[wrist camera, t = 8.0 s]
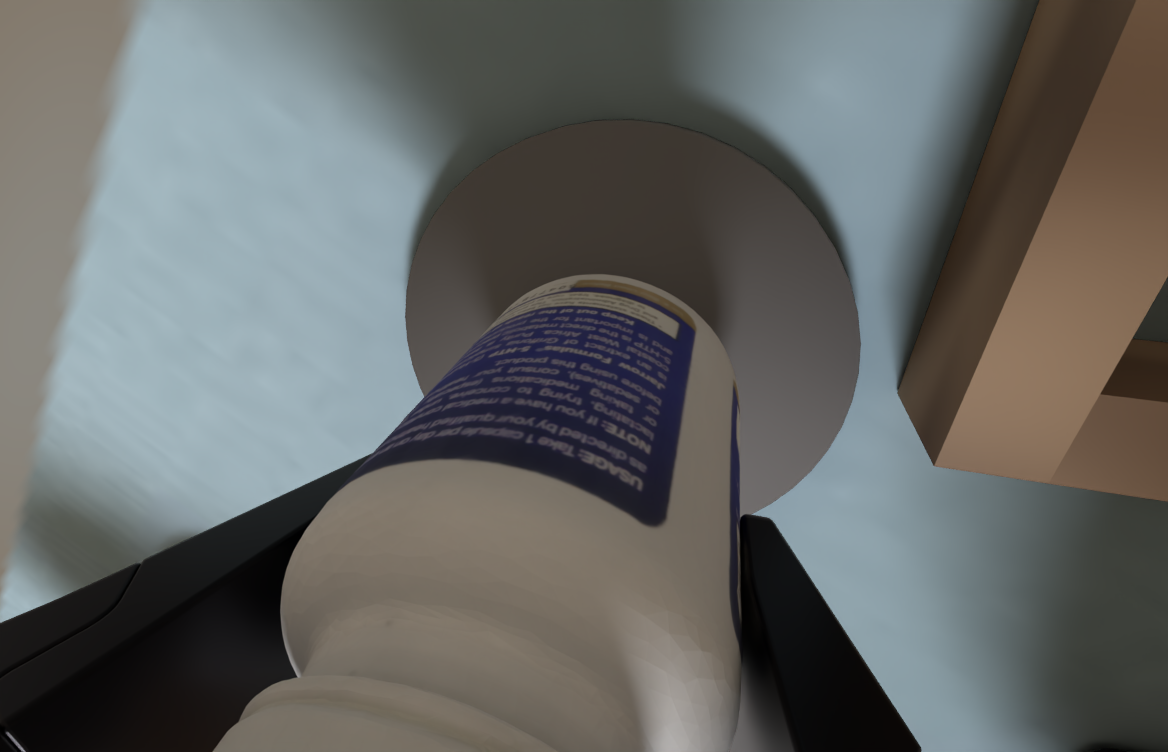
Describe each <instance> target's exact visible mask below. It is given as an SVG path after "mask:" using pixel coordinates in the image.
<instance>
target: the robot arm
mask: <svg viewBox="0 0 1168 752" xmlns="http://www.w3.org/2000/svg"><path fill="white" fill-rule="evenodd" d="M372 454H373V453H372ZM372 454H370V455H368V456H365V457H363V458H361V459H359V460H357V461H355V462H353V463H350V464H348V465H346V466H344V467H342V468H340V469H338V470H335V471H333V472H331V473H329V474H327V475H325V476H323V477H320V478H318V479H316V480H314V481H312V482H310V483H308V484H305V485H303V486H301V487H299V488H297V489H295V490H292V491H290V492H288V493H286V494H284V495H282V496H280V497H277V498H275V499H273V500H271V501H269V502H267V503H265V504H262V505H260V506H258V507H256V508H254V509H252V510H250V511H247V512H245V513H243V514H241V515H239V516H237V517H234V518H232V519H230V520H228V521H226V522H224V523H222V524H219V525H217V526H215V527H213V528H211V529H209V530H207V531H204V532H202V533H200V534H198V535H196V536H194V537H191V538H189V539H187V540H185V541H183V542H181V543H179V544H176V545H174V546H172V547H170V548H168V549H166V550H164V551H161V552H159V553H157V554H155V555H153V556H151V557H148V558H146V559H145V560H143V562H142V563H135V564H133V565H131V566H129V567H127V568H125V569H123V570H120V571H118V572H116V573H114V574H112V575H110V576H108V577H105V578H103V579H101V580H99V581H97V582H94V583H92V584H90V585H88V586H85V587H83V588H81V589H79V590H77V591H74V592H72V593H70V594H68V595H65V596H63V597H61V598H59V599H56V600H54V601H52V602H49V603H47V604H45V605H42V606H40V607H38V608H35V609H33V610H30V611H28V612H26V613H23V614H21V615H18V616H16V617H14V618H11V619H9V620H6V621H4V622H2V623H0V752H213V751H214V749H215V748H216V746H217V745H218V744H219V742H220V741H221V740H222V738H223V737H224V735H225V734H226V733H227V731H228V730H229V729H231V728H232V727H233V726H234V725H235V724H237V723H238V722H239V720H240V717H241V715H242V713H243V711H244V709H245V708H246V706H247V705H248V703H249V702H250V701H251V700H252V699H253V698H254V697H255V696H256V695H258V694H259V693H260V692H262V691H263V690H265V689H266V688H268V687H269V686H271V685H273V684H275V683H278V682H280V681H284V680H290V679H293V678H298V677H297V675H296V673H295V671H294V669H293V667H292V665H291V663H290V660H289V657H288V654H287V651H286V648H285V644H284V639H283V634H282V626H281V615H280V608H281V595H282V585H283V581H284V577H285V573H286V569H287V566H288V564H289V561H290V558H291V556H292V553H293V551H294V549H295V547H296V545H297V544H298V542H299V540H300V539H301V537H302V535H303V534H304V532H305V530H306V529H307V527H308V526H309V525H310V524H311V522H312V521H313V520H314V519H315V517H316V516H317V515H318V514H319V512H320V511H321V510H322V509H323V507H324V506H325V504H326V503H327V502H328V501H329V500H330V499H331V498H332V496H333V495H334V494H335V493H336V492H337V491H338V490H339V488H340V487H341V486H342V485H343V484H344V483H345V482H346V481H347V480H348V479H349V478H350V477H351V476H352V475H353V474H354V473H355V471H356V470H357V469H358V468H359V467H360V466H361V465H362V464H363V463H364V462H365V461H366V460H367V459H368V458H369V457H370V456H371V455H372ZM740 559H741V606H742V645H743V659H742V679H741V703H740V710H739V717H738V724H737V729H736V732H735V735H734V738H733V741H732V744H731V747H730V750H729V752H921V747H920V745H919V744H918V742H917V741H916V739H915V738H914V736H913V734H912V733H911V731H910V730H909V728H908V727H907V725H906V724H905V722H904V721H903V719H902V718H901V716H900V715H899V713H898V712H897V710H896V708H895V707H894V705H893V704H892V702H891V701H890V699H889V698H888V696H887V695H886V693H885V692H884V690H883V689H882V687H881V686H880V684H879V682H878V681H877V679H876V678H875V676H874V675H873V673H872V672H871V670H870V669H869V667H868V666H867V664H866V663H865V661H864V660H863V658H862V656H861V655H860V653H859V652H858V650H857V649H856V647H855V646H854V644H853V643H852V641H851V640H850V638H849V637H848V635H847V634H846V632H845V630H844V629H843V627H842V626H841V624H840V623H839V621H838V620H837V618H836V617H835V615H834V614H833V612H832V611H831V609H830V608H829V606H828V604H827V603H826V601H825V600H824V598H823V597H822V595H821V594H820V592H819V591H818V589H817V588H816V586H815V585H814V583H813V582H812V580H811V578H810V577H809V575H808V574H807V572H806V571H805V569H804V568H803V566H802V565H801V563H800V562H799V560H798V559H797V557H796V556H795V554H794V552H793V551H792V549H791V548H790V546H789V545H788V543H787V542H786V540H785V539H784V537H783V536H782V534H781V533H780V531H779V529H778V528H777V526H776V525H775V523H774V522H773V521H772V520H771V519H769V518H767V517H761V516H756V515H750V514H744V515H743V516H742V517H741V518H740ZM1094 752H1126V751H1121V750H1115V749H1101V750H1098V751H1094Z"/></svg>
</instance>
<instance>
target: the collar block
mask: <svg viewBox="0 0 1168 752" xmlns="http://www.w3.org/2000/svg"><path fill="white" fill-rule="evenodd" d="M1167 277H1168V0H1039V3H1038V5H1037V8H1036V11H1035V14H1034V17H1033V19H1032V22H1031V25H1030V28H1029V30H1028V33H1027V36H1026V39H1025V41H1024V44H1023V47H1022V50H1021V52H1020V55H1019V58H1018V61H1017V64H1016V66H1015V69H1014V72H1013V75H1012V77H1011V80H1010V83H1009V86H1008V88H1007V91H1006V94H1005V97H1004V99H1003V102H1002V105H1001V108H1000V111H999V113H998V116H997V119H996V122H995V124H994V127H993V130H992V133H991V135H990V138H989V141H988V144H987V147H986V149H985V152H984V155H983V158H982V160H981V163H980V166H979V169H978V171H977V174H976V177H975V180H974V182H973V185H972V188H971V191H970V194H969V196H968V199H967V202H966V205H965V207H964V210H963V213H962V216H961V218H960V221H959V224H958V227H957V229H956V232H955V235H954V238H953V241H952V243H951V246H950V249H949V252H948V254H947V257H946V260H945V263H944V265H943V268H942V271H941V274H940V276H939V279H938V282H937V285H936V288H935V290H934V293H933V296H932V299H931V301H930V304H929V307H928V310H927V312H926V315H925V318H924V321H923V324H922V326H921V329H920V332H919V335H918V337H917V340H916V343H915V346H914V348H913V351H912V354H911V357H910V359H909V362H908V365H907V368H906V371H905V373H904V376H903V379H902V382H901V384H900V387H899V390H898V393H897V394H898V396H899V397H900V399H901V401H902V403H903V405H904V407H905V409H906V411H907V413H908V415H909V417H910V419H911V421H912V423H913V425H914V427H915V429H916V431H917V433H918V435H919V437H920V439H921V441H922V443H923V445H924V447H925V449H926V451H927V453H928V455H929V457H930V459H931V461H932V463H933V465H934V466H936V467H943V468H949V469H956V470H962V471H969V472H976V473H982V474H989V475H995V476H1002V477H1009V478H1015V479H1022V480H1028V481H1035V482H1042V483H1048V484H1055V485H1061V486H1068V487H1074V488H1081V489H1088V490H1094V491H1101V492H1107V493H1114V494H1121V495H1127V496H1134V497H1140V498H1147V499H1154V500H1160V501H1167V502H1168V343H1167V342H1157V341H1148V340H1139V339H1132V338H1133V336H1134V334H1135V333H1136V331H1137V329H1138V327H1139V326H1140V324H1141V322H1142V321H1143V319H1144V317H1145V315H1146V314H1147V312H1148V310H1149V308H1150V307H1151V305H1152V303H1153V301H1154V300H1155V298H1156V296H1157V295H1158V293H1159V291H1160V289H1161V288H1162V286H1163V284H1164V282H1165V281H1166V279H1167Z"/></svg>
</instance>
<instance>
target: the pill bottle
mask: <svg viewBox="0 0 1168 752" xmlns="http://www.w3.org/2000/svg"><path fill="white" fill-rule="evenodd" d="M280 615H281V626H282V634H283V639H284V644H285V648H286V651H287V654H288V657H289V660H290V663H291V665H292V667H293V669H294V671H295V673H296V675H297V677H298V678H293V679H290V680H284V681H280V682H278V683H275V684H273V685H271V686H269V687H268V688H266V689H265V690H263V691H262V692H260V693H259V694H258V695H256V696H255V697H254V698H253V699H252V700H251V701H250V702H249V703H248V705H247V706H246V708H245V709H244V711H243V713H242V715H241V717H240V720H239V722H238V723H237V724H235V725H234V726H233V727H232V728H231V729H229V730H228V731H227V733H226V734H225V735H224V737H223V738H222V740H221V741H220V742H219V744H218V745H217V746H216V748H215V749H214V751H213V752H729V750H730V747H731V744H732V741H733V738H734V735H735V732H736V729H737V724H738V717H739V710H740V703H741V679H742V659H743V645H742V606H741V559H740V402H739V391H738V386H737V381H736V377H735V373H734V370H733V367H732V364H731V362H730V359H729V357H728V355H727V352H726V350H725V348H724V346H723V345H722V343H721V341H720V340H719V338H718V337H717V335H716V334H715V333H714V331H713V330H712V328H711V327H710V326H709V325H708V324H707V323H706V322H705V321H704V320H703V319H702V318H701V317H700V316H699V315H698V314H697V313H696V312H695V311H694V310H693V309H691V308H690V307H689V306H688V305H686V304H685V303H684V302H682V301H681V300H679V299H678V298H676V297H675V296H673V295H671V294H669V293H668V292H666V291H663V290H661V289H659V288H657V287H655V286H652V285H650V284H647V283H644V282H641V281H638V280H635V279H631V278H627V277H621V276H615V275H605V274H590V275H577V276H571V277H566V278H562V279H558V280H555V281H552V282H549V283H547V284H544V285H542V286H540V287H538V288H536V289H534V290H532V291H530V292H528V293H526V294H525V295H523V296H522V297H520V298H519V299H518V300H517V301H515V302H514V303H513V304H512V305H511V306H509V307H508V308H507V309H506V310H505V311H504V313H503V314H502V315H501V316H500V317H499V318H498V319H497V320H496V321H495V322H494V323H493V324H492V325H491V326H490V327H489V328H488V329H487V330H486V331H485V332H484V333H483V334H482V335H481V337H480V338H479V339H478V340H477V341H476V342H475V343H474V344H473V345H472V347H471V348H470V349H469V350H468V351H467V352H466V353H465V354H464V355H463V356H462V357H461V358H460V359H459V361H458V362H457V363H456V364H455V365H454V366H453V367H452V368H451V369H450V371H449V372H448V373H447V374H446V375H445V376H444V377H443V378H442V379H441V380H440V381H439V382H438V383H437V385H436V386H435V387H434V388H433V389H432V390H431V391H430V392H429V393H428V394H427V395H426V396H425V397H424V398H423V399H422V401H421V402H420V403H419V404H418V405H417V406H416V407H415V408H414V409H413V410H412V411H411V412H410V413H409V414H408V415H407V416H406V417H405V418H404V420H403V421H402V422H401V424H400V425H399V426H398V427H397V428H396V429H395V430H394V431H393V432H392V433H391V434H390V435H389V436H388V438H387V439H386V440H385V441H384V442H383V443H382V444H381V445H380V446H379V447H378V448H377V449H376V450H375V451H374V453H373V454H372V455H371V456H370V457H369V458H368V459H367V460H366V461H365V462H364V463H363V464H362V465H361V466H360V467H359V468H358V469H357V470H356V471H355V473H354V474H353V475H352V476H351V477H350V478H349V479H348V480H347V481H346V482H345V483H344V484H343V485H342V486H341V487H340V488H339V490H338V491H337V492H336V493H335V494H334V495H333V496H332V498H331V499H330V500H329V501H328V502H327V503H326V504H325V506H324V507H323V509H322V510H321V511H320V512H319V514H318V515H317V516H316V517H315V519H314V520H313V521H312V522H311V524H310V525H309V526H308V527H307V529H306V530H305V532H304V534H303V535H302V537H301V539H300V540H299V542H298V544H297V545H296V547H295V549H294V551H293V553H292V556H291V558H290V561H289V564H288V566H287V569H286V573H285V577H284V581H283V585H282V595H281V608H280Z"/></svg>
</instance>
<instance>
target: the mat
mask: <svg viewBox="0 0 1168 752" xmlns="http://www.w3.org/2000/svg"><path fill="white" fill-rule="evenodd" d="M590 274H605V275H615V276H621V277H627V278H631V279H635V280H638V281H641V282H644V283H647V284H650V285H652V286H655V287H657V288H659V289H661V290H663V291H666V292H668V293H669V294H671V295H673V296H675V297H676V298H678V299H679V300H681V301H682V302H684V303H685V304H686V305H688V306H689V307H690V308H691V309H693V310H694V311H695V312H696V313H697V314H698V315H699V316H700V317H701V318H702V319H703V320H704V321H705V322H706V323H707V324H708V325H709V326H710V327H711V328H712V330H713V331H714V333H715V334H716V335H717V337H718V338H719V340H720V341H721V343H722V345H723V346H724V348H725V350H726V352H727V355H728V357H729V359H730V362H731V364H732V367H733V370H734V373H735V377H736V381H737V386H738V391H739V402H740V518H741V517H742V516H743V515H744V514H750V515H751V514H753V513H755V512H757V511H759V510H760V509H762V508H764V507H766V506H768V505H770V504H771V503H773V502H774V501H776V500H777V499H778V498H780V497H781V496H783V495H784V494H785V493H787V492H788V491H790V490H791V489H792V488H793V487H794V486H796V485H797V484H798V483H799V482H800V481H801V480H802V479H803V478H804V477H805V476H806V475H807V474H808V473H809V472H811V471H812V469H813V468H814V467H815V466H816V464H817V463H818V462H819V461H820V459H821V458H822V457H823V456H824V454H825V453H826V452H827V451H828V449H829V448H830V446H831V444H832V443H833V441H834V439H835V437H836V436H837V434H838V432H839V431H840V429H841V427H842V425H843V423H844V420H845V418H846V415H847V413H848V410H849V408H850V405H851V403H852V400H853V395H854V391H855V387H856V383H857V378H858V374H859V361H860V346H861V341H860V331H859V320H858V311H857V308H856V304H855V300H854V296H853V292H852V288H851V284H850V281H849V279H848V276H847V274H846V272H845V269H844V267H843V265H842V263H841V260H840V258H839V256H838V253H837V251H836V249H835V248H834V246H833V244H832V242H831V241H830V239H829V237H828V236H827V234H826V233H825V231H824V230H823V228H822V226H821V225H820V223H819V222H818V220H817V219H816V217H815V215H814V214H813V213H812V212H811V210H810V209H809V208H808V207H807V206H806V205H805V204H804V202H803V201H802V200H801V199H800V198H799V197H798V196H797V194H796V193H795V192H794V191H793V190H792V189H791V188H790V187H789V186H788V185H787V184H785V183H784V182H783V181H782V180H781V179H780V178H778V177H777V176H776V175H775V174H774V173H772V172H771V171H770V170H769V169H768V168H767V167H765V166H764V165H762V164H761V163H759V162H758V161H756V160H754V159H753V158H751V157H750V156H748V155H746V154H745V153H743V152H742V151H740V150H738V149H737V148H735V147H733V146H731V145H729V144H726V143H724V142H722V141H719V140H717V139H715V138H712V137H710V136H708V135H706V134H703V133H700V132H697V131H693V130H689V129H686V128H682V127H678V126H675V125H671V124H667V123H659V122H651V121H643V120H635V119H623V120H596V121H590V122H584V123H578V124H573V125H567V126H563V127H560V128H557V129H554V130H551V131H548V132H545V133H542V134H539V135H536V136H533V137H530V138H527V139H525V140H523V141H521V142H519V143H517V144H515V145H513V146H511V147H509V148H507V149H505V150H503V151H501V152H499V153H497V154H496V155H494V156H493V157H491V158H490V159H489V160H487V161H486V162H485V163H483V164H482V165H480V166H479V167H478V168H476V169H475V170H473V171H472V172H471V173H470V174H469V175H468V176H467V177H466V178H465V179H464V180H463V181H462V182H461V183H460V184H459V185H458V186H457V187H456V188H455V189H454V190H453V191H452V192H451V193H450V194H449V195H448V196H447V198H446V199H445V201H444V202H443V203H442V205H441V206H440V207H439V209H438V210H437V211H436V213H435V214H434V215H433V217H432V219H431V221H430V223H429V225H428V227H427V228H426V230H425V232H424V234H423V236H422V238H421V240H420V243H419V245H418V248H417V251H416V254H415V257H414V260H413V263H412V266H411V271H410V276H409V281H408V286H407V294H406V313H405V318H406V330H407V341H408V346H409V351H410V355H411V360H412V365H413V368H414V371H415V374H416V377H417V380H418V382H419V385H420V388H421V390H422V392H423V395H424V397H425V396H426V395H427V394H428V393H429V392H430V391H431V390H432V389H433V388H434V387H435V386H436V385H437V383H438V382H439V381H440V380H441V379H442V378H443V377H444V376H445V375H446V374H447V373H448V372H449V371H450V369H451V368H452V367H453V366H454V365H455V364H456V363H457V362H458V361H459V359H460V358H461V357H462V356H463V355H464V354H465V353H466V352H467V351H468V350H469V349H470V348H471V347H472V345H473V344H474V343H475V342H476V341H477V340H478V339H479V338H480V337H481V335H482V334H483V333H484V332H485V331H486V330H487V329H488V328H489V327H490V326H491V325H492V324H493V323H494V322H495V321H496V320H497V319H498V318H499V317H500V316H501V315H502V314H503V313H504V311H505V310H506V309H507V308H508V307H509V306H511V305H512V304H513V303H514V302H515V301H517V300H518V299H519V298H520V297H522V296H523V295H525V294H526V293H528V292H530V291H532V290H534V289H536V288H538V287H540V286H542V285H544V284H547V283H549V282H552V281H555V280H558V279H562V278H566V277H571V276H577V275H590Z"/></svg>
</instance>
